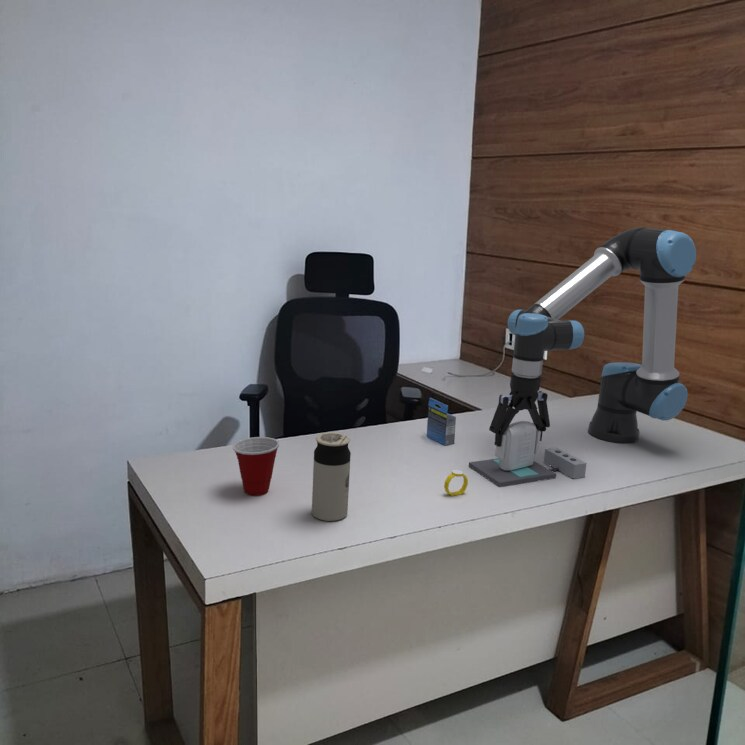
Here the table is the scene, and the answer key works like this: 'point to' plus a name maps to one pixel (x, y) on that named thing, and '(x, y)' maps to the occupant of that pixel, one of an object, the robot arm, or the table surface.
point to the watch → (447, 481)
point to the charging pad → (511, 472)
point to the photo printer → (519, 445)
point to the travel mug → (331, 476)
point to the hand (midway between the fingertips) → (516, 455)
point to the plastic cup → (256, 463)
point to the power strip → (565, 462)
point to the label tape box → (440, 423)
